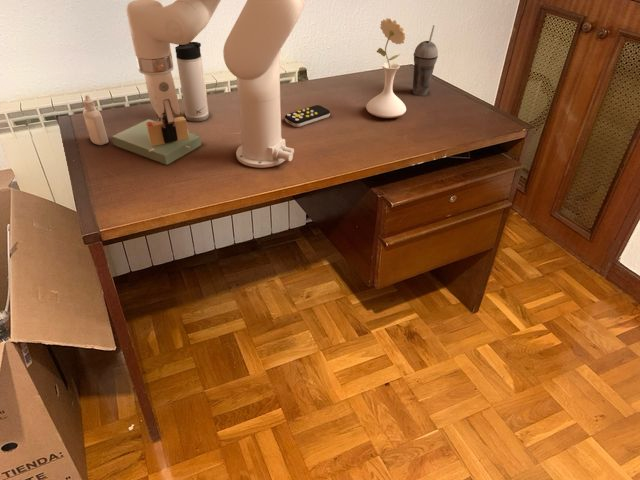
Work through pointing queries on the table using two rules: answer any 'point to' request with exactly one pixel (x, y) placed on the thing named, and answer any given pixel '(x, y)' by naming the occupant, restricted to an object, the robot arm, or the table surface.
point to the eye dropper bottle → (94, 122)
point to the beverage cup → (424, 65)
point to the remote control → (307, 116)
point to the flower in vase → (388, 77)
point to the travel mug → (192, 81)
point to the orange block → (156, 131)
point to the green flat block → (163, 153)
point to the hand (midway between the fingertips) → (169, 138)
